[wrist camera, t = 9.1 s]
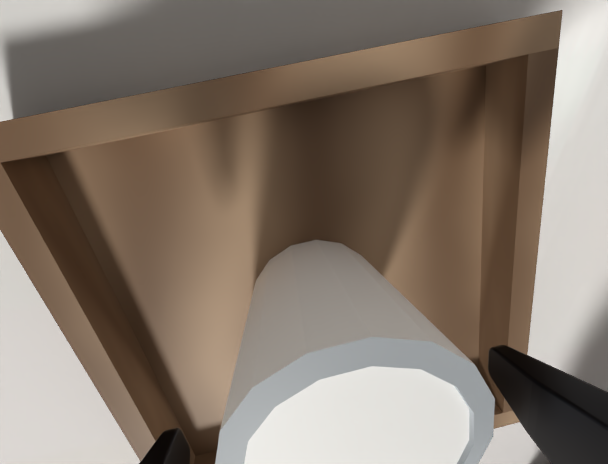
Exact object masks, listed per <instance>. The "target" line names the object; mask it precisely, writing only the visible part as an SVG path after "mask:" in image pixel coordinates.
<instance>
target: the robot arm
mask: <svg viewBox="0 0 608 464" xmlns="http://www.w3.org/2000/svg"><path fill="white" fill-rule="evenodd" d="M488 372H489V374H490V377H491V378H492V380H493V381H494V383H495V384H496V386H497V387H498V389H499V391H500V392H501V394H502V395H503V397H504V398H505V400H506V401H507V403H508V404H509V406H510V407H511V409H512V410H513V412H514V414H515V415H516V417H517V418H518V420H519V421H520V423H521V424H522V426H523V427H524V428H525V430H526V431H527V433H528V434H529V435H530V437H531V438H532V439H533V441H534V442H535V443H536V445H537V446H538V447H539V448H540V450H541V451H542V452H543V454H544V455H545V456H546V457H547V459H548V460H549V461H550V462H551V464H608V392H606V391H604V390H602V389H600V388H598V387H596V386H593V385H591V384H589V383H587V382H585V381H582V380H580V379H578V378H576V377H574V376H572V375H569V374H567V373H565V372H563V371H561V370H559V369H556V368H554V367H552V366H550V365H548V364H546V363H543V362H541V361H539V360H537V359H535V358H532V357H530V356H528V355H526V354H524V353H522V352H519V351H517V350H515V349H513V348H511V347H509V346H506V345H499V346H495V347H491V348H490V349H489V352H488ZM139 464H190V447H189V444H188V442H187V440H186V438H185V436H184V434H183V432H182V430H181V429H180V428H178V427H177V428H173V429H169V430H165V431H164V432H163V433H162V434H161V435H160V436H159V438H158V439H157V440H156V442H155V443H154V444H153V446H152V447H151V448H150V450H149V451H148V452H147V454H146V455H145V456H144V458H143V459H142V460H141V462H140V463H139Z"/></svg>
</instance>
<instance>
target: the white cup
mask: <svg viewBox="0 0 608 464" xmlns="http://www.w3.org/2000/svg"><path fill="white" fill-rule="evenodd" d="M494 407H495V398H494V396H493V395H492V393H491V391H490V389H489V388H488V386H487V384H486V383H485V381H484V379H483V378H482V376H481V374H480V372H479V371H478V369H477V367H476V366H475V364H474V363H473V362H472V361H471V360H470V359H468V358H467V357H466V356H465V355H464V354H463V353H462V352H461V351H460V350H459V349H458V348H457V347H456V346H455V345H454V344H453V343H452V342H451V341H450V340H449V339H448V338H447V337H446V336H445V335H444V334H442V333H441V332H440V331H439V330H438V329H437V328H436V327H435V326H434V325H433V324H432V323H431V322H430V321H429V320H428V319H427V318H426V317H425V316H424V315H423V314H422V313H421V312H420V311H419V310H418V309H416V308H415V307H414V306H413V305H412V304H411V303H410V302H409V301H408V300H407V299H406V298H405V297H404V296H403V295H402V294H401V293H400V292H399V291H398V290H397V289H396V288H395V287H394V286H393V285H392V284H390V283H389V282H388V281H387V280H386V279H385V278H384V277H383V276H382V275H381V274H380V273H379V272H378V271H377V270H376V269H375V268H374V267H373V266H372V265H371V264H370V263H369V262H368V261H367V260H366V259H364V258H363V257H362V256H361V255H360V254H358V253H357V252H355V251H353V250H352V249H350V248H348V247H347V246H345V245H343V244H342V243H336V242H329V241H322V240H313V241H308V242H304V243H300V244H296V245H291V246H289V247H288V248H287V249H285V250H284V251H282V252H281V253H279V254H278V255H276V256H275V257H273V258H272V259H270V260H269V261H268V263H267V264H266V266H265V267H264V269H263V270H262V272H261V273H260V275H259V276H258V278H257V279H256V282H255V286H254V291H253V295H252V299H251V303H250V307H249V311H248V316H247V320H246V324H245V328H244V332H243V336H242V341H241V345H240V349H239V353H238V357H237V362H236V366H235V370H234V374H233V378H232V382H231V387H230V391H229V395H228V399H227V403H226V407H225V412H224V416H223V420H222V424H221V428H220V433H219V440H218V447H217V454H216V461H215V464H478V463H479V461H480V459H481V458H482V456H483V454H484V452H485V450H486V448H487V447H488V445H489V443H490V441H491V439H492V438H493V428H494Z"/></svg>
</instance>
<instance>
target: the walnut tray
mask: <svg viewBox="0 0 608 464" xmlns="http://www.w3.org/2000/svg"><path fill="white" fill-rule="evenodd" d="M561 19H562V10H560V11H555V12H550V13H545V14H540V15H535V16H530V17H525V18H520V19H515V20H510V21H505V22H500V23H495V24H490V25H485V26H480V27H475V28H469V29H464V30H459V31H454V32H449V33H444V34H439V35H434V36H429V37H424V38H419V39H414V40H409V41H404V42H399V43H394V44H389V45H384V46H379V47H374V48H369V49H364V50H359V51H354V52H349V53H344V54H339V55H334V56H329V57H324V58H319V59H314V60H309V61H304V62H299V63H294V64H289V65H284V66H279V67H274V68H268V69H263V70H258V71H253V72H248V73H243V74H238V75H233V76H228V77H223V78H218V79H213V80H208V81H203V82H198V83H193V84H188V85H183V86H178V87H173V88H168V89H163V90H158V91H153V92H148V93H143V94H138V95H133V96H128V97H123V98H118V99H113V100H108V101H103V102H98V103H93V104H88V105H83V106H78V107H73V108H67V109H62V110H57V111H52V112H47V113H42V114H37V115H32V116H27V117H22V118H17V119H12V120H7V121H2V122H0V230H1V232H2V233H3V235H4V237H5V238H6V240H7V242H8V243H9V245H10V247H11V248H12V250H13V252H14V253H15V255H16V256H17V258H18V260H19V261H20V263H21V265H22V266H23V268H24V270H25V271H26V273H27V275H28V276H29V278H30V280H31V281H32V283H33V285H34V286H35V288H36V290H37V291H38V293H39V294H40V296H41V298H42V299H43V301H44V303H45V304H46V306H47V308H48V309H49V311H50V313H51V314H52V316H53V318H54V319H55V321H56V323H57V324H58V326H59V327H60V329H61V331H62V332H63V334H64V336H65V337H66V339H67V341H68V342H69V344H70V346H71V347H72V349H73V351H74V352H75V354H76V356H77V357H78V359H79V361H80V362H81V364H82V365H83V367H84V369H85V370H86V372H87V374H88V375H89V377H90V379H91V380H92V382H93V384H94V385H95V387H96V389H97V390H98V392H99V394H100V395H101V397H102V398H103V400H104V402H105V403H106V405H107V407H108V408H109V410H110V412H111V413H112V415H113V417H114V418H115V420H116V422H117V423H118V425H119V427H120V428H121V430H122V432H123V433H124V435H125V436H126V438H127V440H128V441H129V443H130V445H131V446H132V448H133V450H134V451H135V453H136V455H137V456H138V458H139V460H140V461H141V460H142V459H143V458H144V456H145V455H146V454H147V452H148V451H149V450H150V448H151V447H152V446H153V444H154V443H155V442H156V440H157V439H158V438H159V436H160V435H161V434H162V433H163V432H164V431H165V430H169V429H173V428H177V427H178V428H180V429H181V430H182V432H183V434H184V436H185V438H186V440H187V442H188V444H189V447H190V464H215V461H216V454H217V447H218V440H219V433H220V428H221V424H222V420H223V416H224V412H225V407H226V403H227V399H228V395H229V391H230V387H231V382H232V378H233V374H234V370H235V366H236V362H237V357H238V353H239V349H240V345H241V341H242V336H243V332H244V328H245V324H246V320H247V316H248V311H249V307H250V303H251V299H252V295H253V291H254V286H255V282H256V279H257V278H258V276H259V275H260V273H261V272H262V270H263V269H264V267H265V266H266V264H267V263H268V261H269V260H270V259H272V258H273V257H275V256H276V255H278V254H279V253H281V252H282V251H284V250H285V249H287V248H288V247H289V246H291V245H296V244H300V243H304V242H308V241H313V240H322V241H329V242H336V243H342V244H343V245H345V246H347V247H348V248H350V249H352V250H353V251H355V252H357V253H358V254H360V255H361V256H362V257H363V258H364V259H366V260H367V261H368V262H369V263H370V264H371V265H372V266H373V267H374V268H375V269H376V270H377V271H378V272H379V273H380V274H381V275H382V276H383V277H384V278H385V279H386V280H387V281H388V282H389V283H390V284H392V285H393V286H394V287H395V288H396V289H397V290H398V291H399V292H400V293H401V294H402V295H403V296H404V297H405V298H406V299H407V300H408V301H409V302H410V303H411V304H412V305H413V306H414V307H415V308H416V309H418V310H419V311H420V312H421V313H422V314H423V315H424V316H425V317H426V318H427V319H428V320H429V321H430V322H431V323H432V324H433V325H434V326H435V327H436V328H437V329H438V330H439V331H440V332H441V333H442V334H444V335H445V336H446V337H447V338H448V339H449V340H450V341H451V342H452V343H453V344H454V345H455V346H456V347H457V348H458V349H459V350H460V351H461V352H462V353H463V354H464V355H465V356H466V357H467V358H468V359H470V360H471V361H472V362H473V363H474V364H475V366H476V367H477V369H478V371H479V372H480V374H481V376H482V378H483V379H484V381H485V383H486V384H487V386H488V388H489V389H490V391H491V393H492V395H493V396H494V398H495V407H494V428H493V429H495V428H499V427H502V426H506V425H510V424H514V423H517V422H520V421H519V420H518V418H517V417H516V415H515V414H514V412H513V410H512V409H511V407H510V406H509V404H508V403H507V401H506V400H505V398H504V397H503V395H502V394H501V392H500V391H499V389H498V387H497V386H496V384H495V383H494V381H493V380H492V378H491V377H490V374H489V372H488V352H489V349H490V348H491V347H495V346H499V345H506V346H509V347H511V348H513V349H515V350H517V351H519V352H522V353H524V354H526V355H527V352H528V342H529V332H530V322H531V313H532V303H533V293H534V283H535V274H536V264H537V254H538V244H539V234H540V225H541V215H542V205H543V195H544V185H545V176H546V166H547V156H548V146H549V137H550V127H551V117H552V107H553V97H554V88H555V78H556V68H557V58H558V49H559V39H560V29H561Z"/></svg>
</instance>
